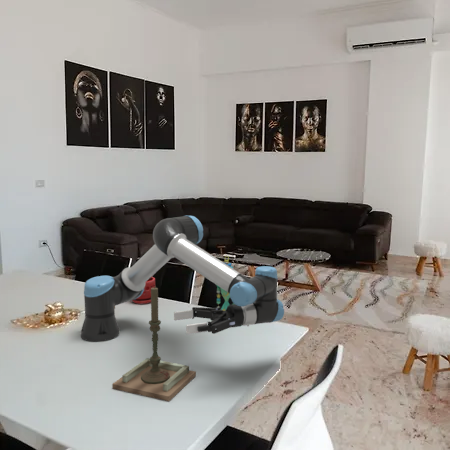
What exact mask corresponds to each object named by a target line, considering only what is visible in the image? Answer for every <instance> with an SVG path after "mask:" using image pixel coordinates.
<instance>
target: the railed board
mask: <svg viewBox="0 0 450 450" xmlns="http://www.w3.org/2000/svg"><path fill="white" fill-rule="evenodd" d="M158 365H159V366H158V367H159V368H161V369H163V370H165V371H167V372H168V373H169V374H170V377H169V379H168V380H167V381H165V382H163V383H159V384H149V383H145V382H143V381H142V379H141V376H142V374H143V373H144V372H146V371H148V370H149V369H151V368H152V364H151V362H150V357H146V358H145V359H143V360H142V361H141V362H139V363H138V364H137V365H135V366H134V367H133V368H131V369H129V370H128V371H126V372H125V373H124V374H123V375H122V377H120V378H119V379H117V380H116V381H114V382H113V383H112V384H111V386H112V387H111V388H112V389H113V390H117V391H122V392H124V393H125V392H126V393H130V394H134V395H140V396H144V397H148V398H153V399H156V400H161V401H165V402H170V401H171V400H172V399H173V398H174V397H175V396H176V395H178V394H179V393H180V392H181V391H182V390H183V389H184V388H185V387H186V386H187V385H188V384H190V382H192V380H193V379H194V378H196V375H197V371H196V370H190V365H185V364H180V363H176V362H175V363H174V362H171V361H165V360H160V363H159V364H158Z"/></svg>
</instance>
